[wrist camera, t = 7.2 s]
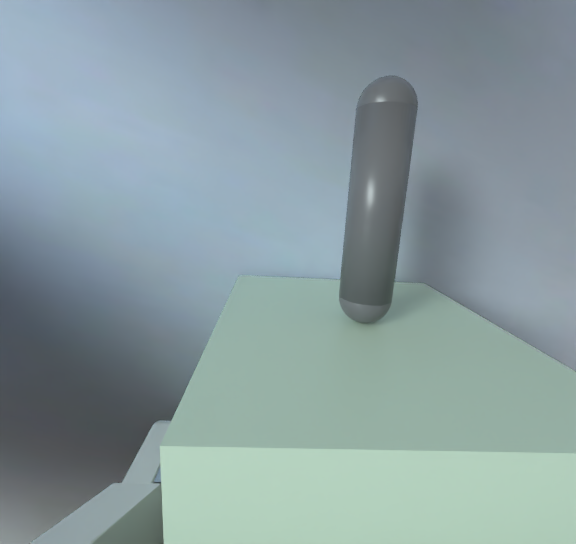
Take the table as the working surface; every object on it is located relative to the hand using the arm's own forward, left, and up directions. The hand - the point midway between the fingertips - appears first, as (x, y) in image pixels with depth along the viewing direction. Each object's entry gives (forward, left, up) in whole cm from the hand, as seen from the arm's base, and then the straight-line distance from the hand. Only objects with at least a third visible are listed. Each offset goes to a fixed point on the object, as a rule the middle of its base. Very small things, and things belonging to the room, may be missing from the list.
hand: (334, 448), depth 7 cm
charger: (0, 0, -2) cm, 2 cm away
